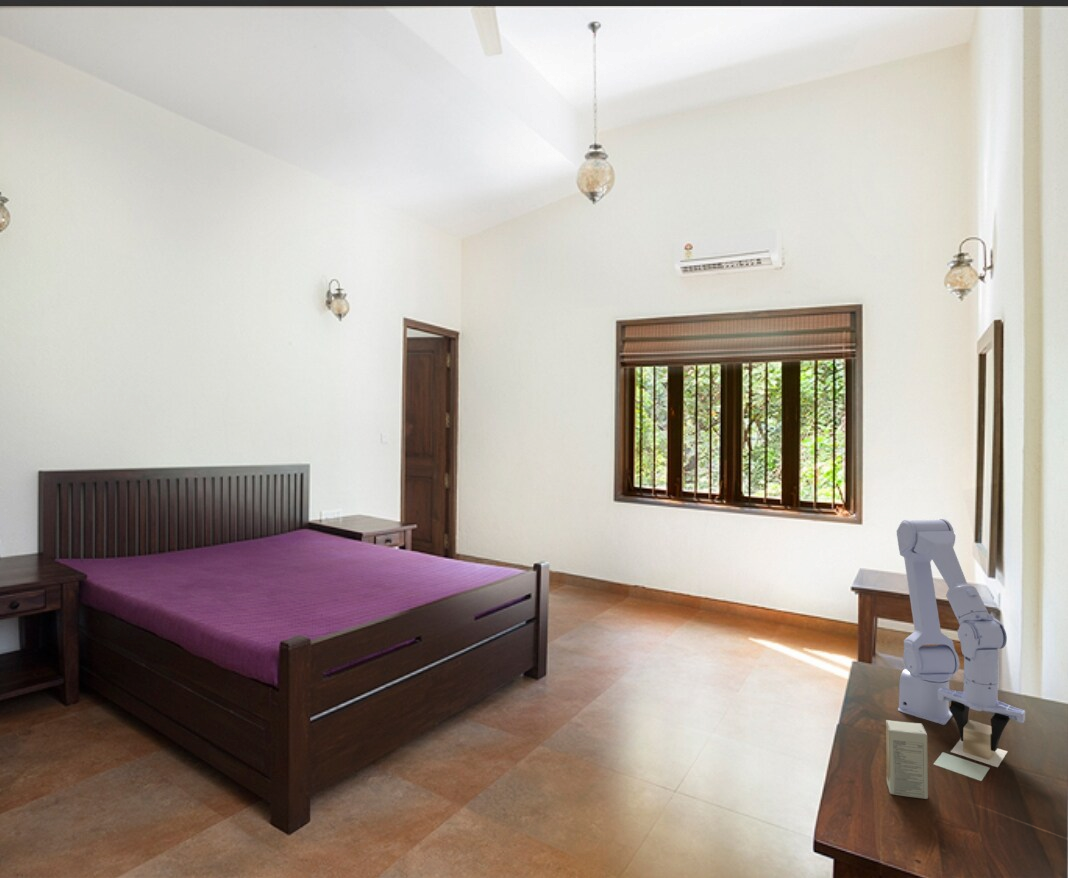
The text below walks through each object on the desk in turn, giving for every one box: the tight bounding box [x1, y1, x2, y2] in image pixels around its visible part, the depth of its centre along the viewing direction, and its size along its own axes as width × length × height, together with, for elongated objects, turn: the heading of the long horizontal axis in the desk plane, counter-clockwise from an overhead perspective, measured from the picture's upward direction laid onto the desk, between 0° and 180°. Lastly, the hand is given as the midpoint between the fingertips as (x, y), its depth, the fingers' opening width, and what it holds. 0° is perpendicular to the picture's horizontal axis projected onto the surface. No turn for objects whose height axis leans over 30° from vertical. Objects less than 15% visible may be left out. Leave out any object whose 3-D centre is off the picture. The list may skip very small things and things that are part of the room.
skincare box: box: [885, 719, 929, 800], centre depth 121 cm, size 6×4×12 cm
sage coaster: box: [933, 752, 991, 782], centre depth 128 cm, size 8×6×1 cm
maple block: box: [963, 719, 995, 760], centre depth 133 cm, size 4×4×5 cm
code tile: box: [950, 738, 1008, 768], centre depth 133 cm, size 8×8×1 cm
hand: (979, 744), depth 133 cm, fingers closed on maple block, 4 cm apart
